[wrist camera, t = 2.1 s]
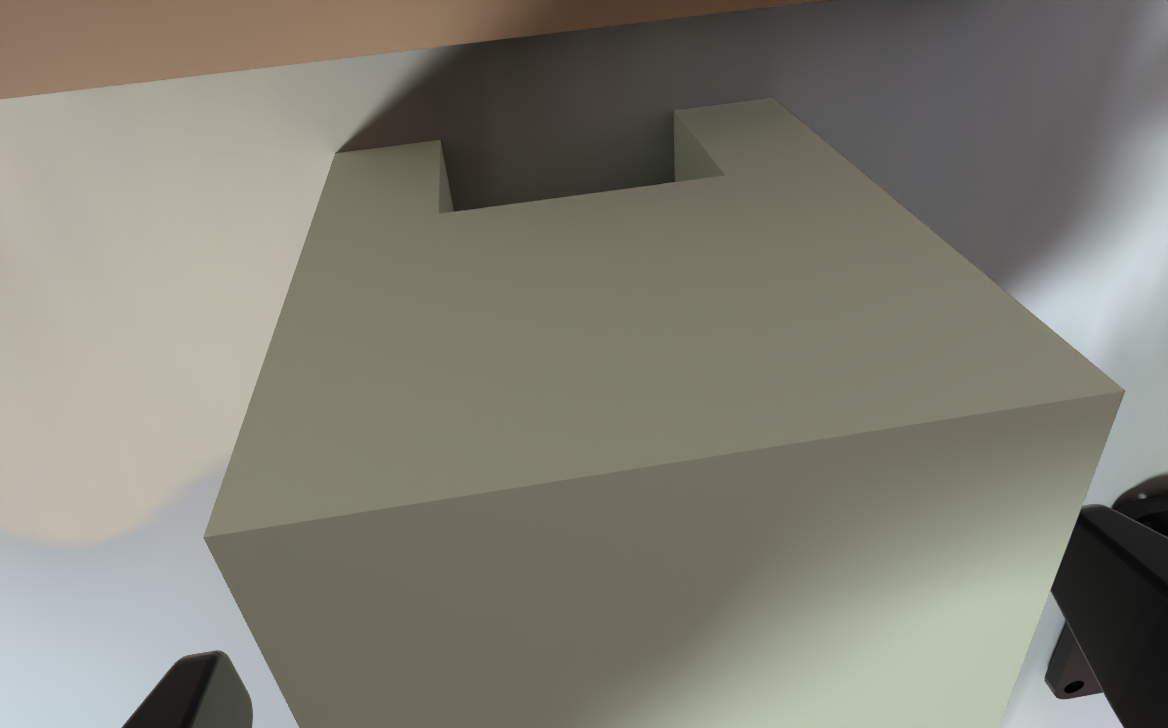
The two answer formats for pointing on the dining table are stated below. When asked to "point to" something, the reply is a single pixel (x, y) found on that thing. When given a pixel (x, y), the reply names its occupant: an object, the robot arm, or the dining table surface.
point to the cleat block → (652, 453)
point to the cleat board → (277, 33)
